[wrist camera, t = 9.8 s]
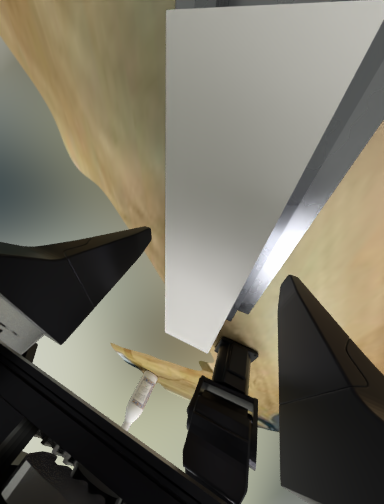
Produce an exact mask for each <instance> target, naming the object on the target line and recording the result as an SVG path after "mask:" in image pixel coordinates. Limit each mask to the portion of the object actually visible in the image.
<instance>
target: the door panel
mask: <svg viewBox="0 0 384 504" xmlns="http://www.w3.org/2000/svg"><path fill="white" fill-rule="evenodd" d="M383 20H384V0H360V1H339V2H318V3H297V4H277V5H256V6H235V7H214V8H193V9H172V10H166V185H165V332H166V333H168V334H170V335H172V336H174V337H176V338H178V339H179V340H182V341H184V342H186V343H188V344H189V345H191V346H193V347H196V348H197V349H199V350H201V351H203V352H205V353H207V354H208V352H209V350H210V348H211V346H212V345H213V343H214V341H215V339H216V337H217V335H218V333H219V331H220V329H221V327H222V326H223V324H224V322H225V320H226V318H227V316H228V314H229V312H230V310H231V309H232V307H233V305H234V303H235V301H236V299H237V297H238V295H239V293H240V291H241V290H242V288H243V286H244V284H245V282H246V280H247V278H248V276H249V274H250V272H251V271H252V269H253V267H254V265H255V263H256V261H257V259H258V257H259V255H260V253H261V252H262V250H263V248H264V246H265V244H266V242H267V240H268V238H269V236H270V235H271V233H272V231H273V229H274V227H275V225H276V223H277V221H278V219H279V217H280V216H281V214H282V212H283V210H284V208H285V206H286V204H287V202H288V200H289V198H290V197H291V195H292V193H293V191H294V189H295V187H296V185H297V183H298V181H299V179H300V178H301V176H302V174H303V172H304V170H305V168H306V166H307V164H308V162H309V161H310V159H311V157H312V155H313V153H314V151H315V149H316V147H317V145H318V143H319V142H320V140H321V138H322V136H323V134H324V132H325V130H326V128H327V126H328V124H329V123H330V121H331V119H332V117H333V115H334V113H335V111H336V109H337V107H338V105H339V104H340V102H341V100H342V98H343V96H344V94H345V92H346V90H347V88H348V87H349V85H350V83H351V81H352V79H353V77H354V75H355V73H356V71H357V69H358V68H359V66H360V64H361V62H362V60H363V58H364V56H365V54H366V52H367V50H368V49H369V47H370V45H371V43H372V41H373V39H374V37H375V35H376V33H377V32H378V30H379V28H380V26H381V24H382V22H383Z"/></svg>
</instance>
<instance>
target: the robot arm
mask: <svg viewBox="0 0 384 504" xmlns="http://www.w3.org/2000/svg"><path fill="white" fill-rule="evenodd" d="M151 239H152V236H151V228H149V227H146V226H144V227H139V228H134V229H129V230H124V231H120V232H115V233H110V234H106V235H100V236H95V237H92V238H86V239H81V240H75V241H70V242H63V243H57V244H50V245H44V246H36V247H27V246H19V245H14V244H8V243H3V242H0V504H241V502H242V501H243V499H244V497H245V495H246V493H247V488H248V471H249V467H250V468H251V469H253V470H255V468H256V454H257V453H256V452H257V421H258V399H256V398H252V397H250V396H248V389H249V376H250V364H251V362H253V361H254V360H255V359H256V358H257V357H258V353H257V352H255V351H253V350H251V349H249V348H247V347H244V346H242V345H240V344H238V343H236V342H234V341H232V340H229V339H227V338H225V337H222V338H221V339H220V341H219V343H218V344H217V346H216V348H215V352H217V353H218V355H217V359H216V364H215V368H214V372H213V376H212V380H210V379H208V378H206V377H205V376H203V375H202V376H201V378H199V382H198V385H197V387H196V390H195V393H194V395H193V397H192V399H191V401H190V403H189V406H188V408H187V414H188V419H187V429H188V434H187V438H186V442H185V445H184V448H183V467H185V473H184V472H183V471H182V470H180V469H179V468H177V467H176V466H174V465H173V464H172V463H170V462H169V461H168V460H166V459H165V458H163V457H162V456H161V455H159V454H158V453H156V452H155V451H154V450H152V449H151V448H149V447H148V446H147V445H145V444H144V443H142V442H141V441H140V440H138V439H137V438H135V437H134V436H133V435H131V434H130V433H128V432H127V431H126V430H124V429H123V428H122V427H120V426H119V425H117V424H116V423H114V422H113V421H112V420H110V419H109V418H108V417H106V416H105V415H104V414H102V413H101V412H99V411H98V410H97V409H95V408H94V407H92V406H91V405H90V404H88V403H87V402H85V401H84V400H83V399H81V398H80V397H78V396H77V395H76V394H74V393H73V392H72V391H70V390H69V389H67V388H66V387H65V386H63V385H62V384H60V383H59V382H57V381H56V380H55V379H53V378H52V377H51V376H49V375H47V374H46V373H45V372H44V371H42V370H41V369H39V368H38V367H37V366H35V365H34V364H33V363H32V362H33V359H34V356H35V352H36V349H37V346H38V344H37V343H36V342H37V341H38V340H39V339H40V338H42V337H43V336H44V335H46V336H47V337H49V338H50V339H52V340H53V341H55V342H57V343H58V344H60V345H62V344H63V343H64V342H65V341H66V340H67V339H68V337H69V336H70V335H71V334H72V333H73V332H74V331H75V329H76V328H77V327H78V326H79V325H80V324H81V323H82V322H83V320H84V319H85V318H86V317H87V316H88V315H89V314H90V312H91V311H92V310H93V309H94V308H95V307H96V306H97V304H98V303H99V302H100V301H101V300H102V299H103V298H104V296H105V295H106V294H107V293H108V292H109V291H110V290H111V288H113V286H114V285H115V284H116V283H117V282H118V281H119V280H120V278H121V277H122V276H123V275H124V274H125V273H126V272H127V271H128V269H129V268H130V267H131V266H132V265H133V264H134V263H135V262H136V260H137V259H138V258H139V257H140V256H141V254H142V253H143V251H144V250H145V249H146V247H147V246H148V244H149V243H150V241H151ZM278 362H279V404H280V405H279V426H280V477H281V478H280V479H281V486H282V487H284V488H285V489H287V490H288V491H290V492H291V493H293V494H295V495H296V496H298V497H299V498H301V499H302V500H304V501H305V502H307V503H309V504H384V375H383V374H382V373H381V372H380V371H379V370H378V369H377V368H376V367H375V366H374V365H373V363H372V362H371V361H370V360H369V359H368V358H367V357H366V356H365V355H364V353H363V352H362V351H361V350H360V349H359V348H358V347H357V345H356V344H355V343H354V342H353V341H352V340H351V339H350V338H349V336H348V335H347V334H346V333H345V332H344V330H343V329H342V328H341V327H340V326H339V325H338V323H337V322H336V321H335V320H334V319H333V318H332V316H331V315H330V314H329V313H328V312H327V311H326V309H325V308H324V307H323V306H322V305H321V304H320V302H319V301H318V300H317V299H316V298H315V297H314V295H313V294H312V293H311V292H310V291H309V290H308V289H307V287H306V286H305V285H304V284H303V283H302V282H301V280H300V279H299V278H298V277H296V276H293V275H289V276H287V278H286V279H285V280H284V282H283V283H282V284H281V287H280V295H279V303H278ZM248 410H249V411H251V412H252V415H250V414H248ZM33 436H34V437H38V438H42V439H43V440H42V442H41V443H42V444H43V445H45V446H49V447H52V448H53V450H52V453H48V452H43V451H42V452H35V453H29V454H28V453H25V452H23V451H22V450H23V449H24V448H25V446H26V445H27V444H28V443H29V441H30V440H31V439H32V437H33ZM56 455H58V456H62V457H64V460H63V463H64V464H66V465H71V466H74V469H73V470H72V469H71V468H69V467H68V466H62V465H57V464H56V463H55V460H56V459H57V456H56Z"/></svg>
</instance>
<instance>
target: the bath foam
mask: <svg viewBox="0 0 384 504" xmlns="http://www.w3.org/2000/svg"><path fill="white" fill-rule="evenodd" d="M157 379H158V378H157V376H156V375H155V374H153V373H152V372H150V371H148V370H146V371H145V372H144V374H143V376H142V378H141V380H140V381H139V383H138V385H137V387H136V389H135V391H134V393H133V395H132V396H131V398H130V400H129V402H128V405H127V408H126V415H125V421H124V422H123V425H122V426H121V427H122V428H123V429H124V430H126V431H128V429H129V427H130V425H131V423H133V422H134V421H135V420H136V419H137V418H138V417H139V416H140V415H141V413H142V411H143V409H144V407H145V405H146V403H147V401H148V399H149V396H150V394H151V392H152V390H153V388H154V386H155V383H156V381H157Z"/></svg>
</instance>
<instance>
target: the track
mask: <svg viewBox="0 0 384 504" xmlns="http://www.w3.org/2000/svg"><path fill="white" fill-rule="evenodd" d="M339 1H360V0H176V5H175V9H193V8H214V7H235V6H256V5H277V4H297V3H318V2H339ZM383 120H384V20H383V22H382V24H381V26H380V28H379V30H378V32H377V33H376V35H375V37H374V39H373V41H372V43H371V45H370V47H369V49H368V50H367V52H366V54H365V56H364V58H363V60H362V62H361V64H360V66H359V68H358V69H357V71H356V73H355V75H354V77H353V79H352V81H351V83H350V85H349V87H348V88H347V90H346V92H345V94H344V96H343V98H342V100H341V102H340V104H339V105H338V107H337V109H336V111H335V113H334V115H333V117H332V119H331V121H330V123H329V124H328V126H327V128H326V130H325V132H324V134H323V136H322V138H321V140H320V142H319V143H318V145H317V147H316V149H315V151H314V153H313V155H312V157H311V159H310V161H309V162H308V164H307V166H306V168H305V170H304V172H303V174H302V176H301V178H300V179H299V181H298V183H297V185H296V187H295V189H294V191H293V193H292V195H291V197H290V198H289V200H288V202H287V204H286V206H285V208H284V210H283V212H282V214H281V216H280V217H279V219H278V221H277V223H276V225H275V227H274V229H273V231H272V233H271V235H270V236H269V238H268V240H267V242H266V244H265V246H264V248H263V250H262V252H261V253H260V255H259V257H258V259H257V261H256V263H255V265H254V267H253V269H252V271H251V272H250V274H249V276H248V278H247V280H246V282H245V284H244V286H243V288H242V290H241V291H240V293H239V295H238V297H237V299H236V301H235V303H234V305H233V307H232V309H231V310H230V312H229V314H228V316H227V318H226V320H228V321H231V320H232V318H233V317H234V315H235V313H236V312H237V310H239V311H241V312H244V313H246V314H249V312H250V311H251V310H252V308H253V307H254V305H255V304H256V302H257V301H258V300H259V298H260V297H261V295H262V294H263V292H264V291H265V289H266V288H267V287H268V285H269V284H270V282H271V281H272V279H273V278H274V277H275V275H276V274H277V272H278V271H279V269H280V268H281V266H282V265H283V264H284V262H285V261H286V259H287V258H288V256H289V255H290V254H291V252H292V251H293V249H294V248H295V246H296V245H297V243H298V242H299V241H300V239H301V238H302V236H303V235H304V233H305V232H306V231H307V229H308V228H309V226H310V225H311V223H312V222H313V220H314V219H315V218H316V216H317V215H318V213H319V212H320V210H321V209H322V208H323V206H324V205H325V203H326V202H327V200H328V199H329V197H330V196H331V195H332V193H333V192H334V190H335V189H336V187H337V186H338V185H339V183H340V182H341V180H342V179H343V177H344V176H345V174H346V173H347V172H348V170H349V169H350V167H351V166H352V164H353V163H354V161H355V160H356V159H357V157H358V156H359V154H360V153H361V151H362V150H363V149H364V147H365V146H366V144H367V143H368V141H369V140H370V138H371V137H372V136H373V134H374V133H375V131H376V130H377V128H378V127H379V126H380V124H381V123H382V121H383Z"/></svg>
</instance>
